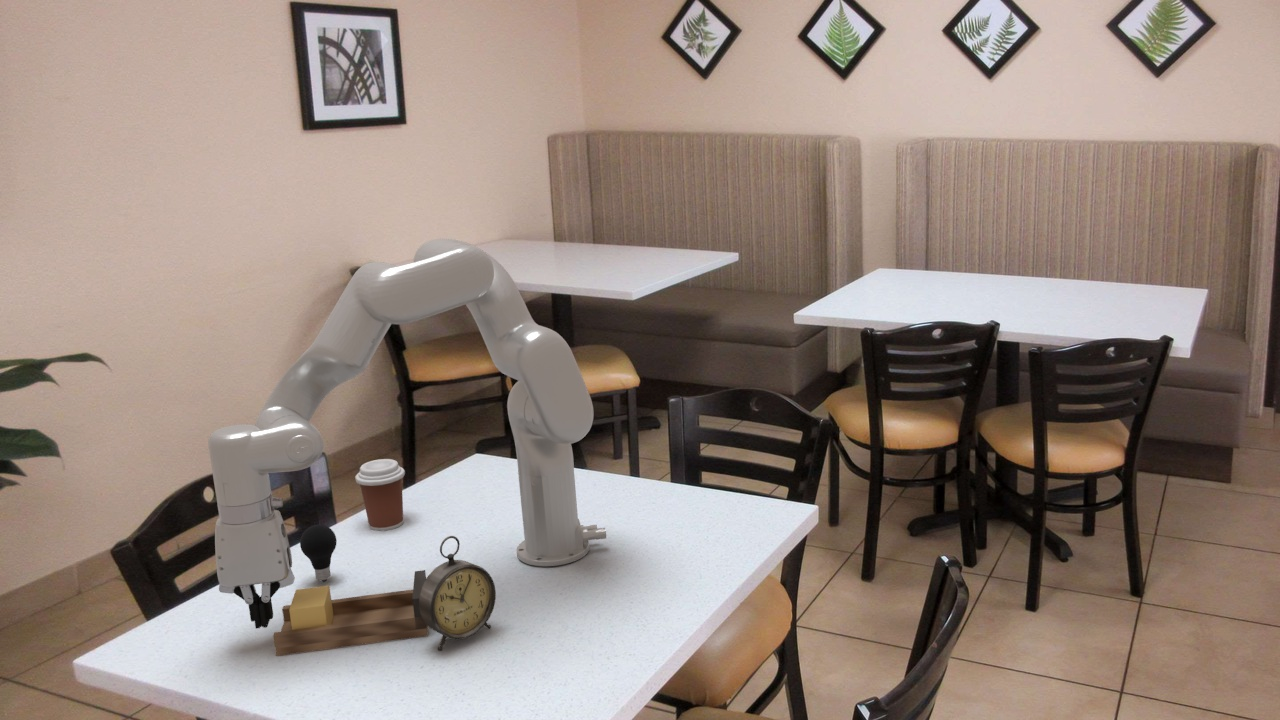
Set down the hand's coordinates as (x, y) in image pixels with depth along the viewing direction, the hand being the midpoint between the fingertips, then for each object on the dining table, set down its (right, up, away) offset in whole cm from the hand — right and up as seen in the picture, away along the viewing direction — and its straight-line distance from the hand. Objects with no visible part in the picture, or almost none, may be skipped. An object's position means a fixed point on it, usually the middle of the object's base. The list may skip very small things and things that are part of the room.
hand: (263, 623), depth 164 cm
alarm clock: (+30, -2, -2) cm, 30 cm away
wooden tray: (+13, -2, +3) cm, 14 cm away
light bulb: (+3, +2, +21) cm, 21 cm away
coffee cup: (+8, +8, +44) cm, 46 cm away
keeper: (+7, -1, +2) cm, 7 cm away
